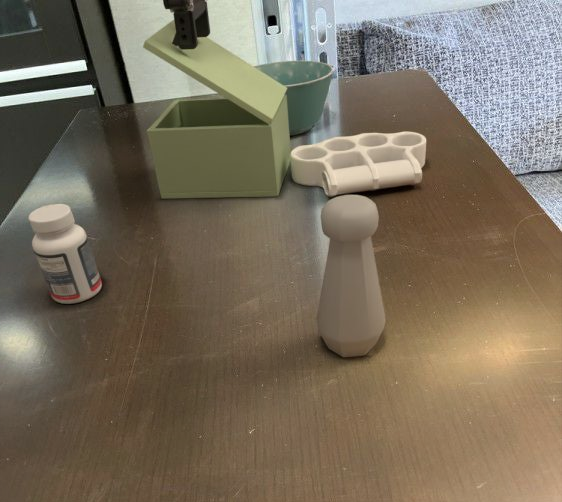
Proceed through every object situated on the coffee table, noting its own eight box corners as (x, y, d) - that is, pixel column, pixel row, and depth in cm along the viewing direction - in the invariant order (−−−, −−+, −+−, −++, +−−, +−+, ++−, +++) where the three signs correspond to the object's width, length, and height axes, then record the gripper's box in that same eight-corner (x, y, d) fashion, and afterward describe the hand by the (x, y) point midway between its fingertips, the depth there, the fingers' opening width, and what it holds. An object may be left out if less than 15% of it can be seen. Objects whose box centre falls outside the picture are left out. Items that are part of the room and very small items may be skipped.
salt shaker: (306, 337, 55) (295, 198, 47) (360, 316, 57) (359, 179, 49) (340, 372, 51) (335, 226, 43) (398, 348, 53) (404, 204, 45)
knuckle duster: (304, 207, 76) (285, 164, 87) (446, 186, 77) (410, 147, 88) (302, 180, 74) (283, 140, 85) (449, 159, 75) (411, 122, 86)
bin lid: (142, 47, 70) (159, -1, 67) (173, 23, 80) (189, -20, 76) (269, 125, 74) (291, 83, 70) (284, 93, 83) (304, 55, 80)
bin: (161, 198, 82) (146, 130, 76) (186, 162, 91) (174, 99, 86) (278, 196, 79) (271, 126, 74) (291, 159, 89) (286, 94, 83)
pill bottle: (89, 273, 68) (64, 195, 62) (111, 290, 65) (87, 210, 59) (43, 292, 65) (13, 213, 60) (64, 311, 62) (34, 229, 57)
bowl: (241, 115, 106) (234, 63, 101) (333, 108, 105) (332, 55, 100) (232, 148, 94) (224, 90, 89) (336, 141, 93) (334, 82, 88)
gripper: (156, -138, 70) (181, 30, 81) (111, -136, 59) (146, 58, 70) (221, -143, 69) (237, 28, 80) (187, -142, 58) (211, 56, 69)
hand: (195, 41), depth 75 cm, fingers closed on bin lid, 5 cm apart
